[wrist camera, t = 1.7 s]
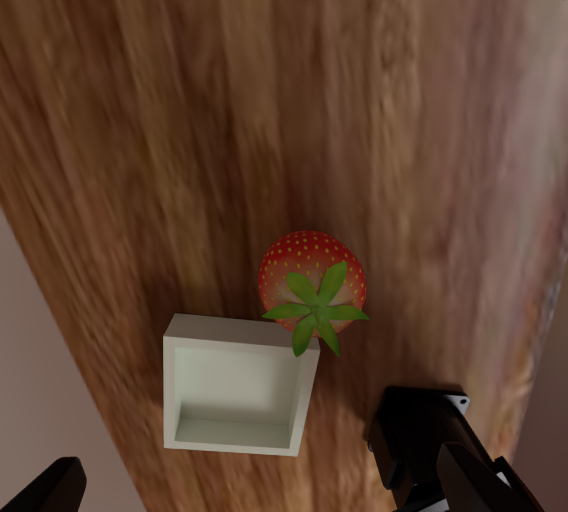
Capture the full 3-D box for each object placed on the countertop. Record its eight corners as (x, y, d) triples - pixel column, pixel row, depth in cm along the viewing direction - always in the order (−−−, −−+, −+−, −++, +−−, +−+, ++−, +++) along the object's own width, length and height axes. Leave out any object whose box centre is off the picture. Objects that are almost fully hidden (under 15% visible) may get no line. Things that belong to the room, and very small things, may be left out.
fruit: (362, 237, 20) (415, 306, 13) (316, 302, 22) (339, 396, 14) (286, 193, 19) (295, 241, 11) (244, 265, 20) (228, 347, 13)
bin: (315, 326, 22) (320, 350, 20) (295, 426, 26) (297, 456, 24) (175, 313, 22) (163, 336, 19) (174, 417, 25) (164, 447, 23)
